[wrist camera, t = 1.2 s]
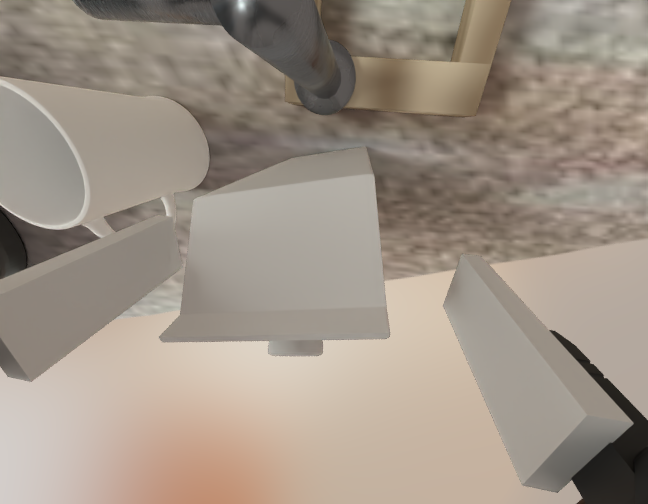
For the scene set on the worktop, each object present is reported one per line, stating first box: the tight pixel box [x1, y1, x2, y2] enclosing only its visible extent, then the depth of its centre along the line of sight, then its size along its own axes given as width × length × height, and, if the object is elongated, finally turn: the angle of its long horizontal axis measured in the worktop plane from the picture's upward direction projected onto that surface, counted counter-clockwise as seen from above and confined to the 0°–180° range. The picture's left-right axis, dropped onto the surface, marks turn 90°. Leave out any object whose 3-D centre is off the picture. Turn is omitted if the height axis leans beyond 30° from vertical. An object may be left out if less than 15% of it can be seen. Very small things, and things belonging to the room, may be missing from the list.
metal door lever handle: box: [72, 0, 356, 115], centre depth 13 cm, size 8×4×16 cm, turn 86°
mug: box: [0, 76, 210, 238], centre depth 20 cm, size 12×9×12 cm
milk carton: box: [159, 147, 390, 356], centre depth 16 cm, size 7×7×19 cm
